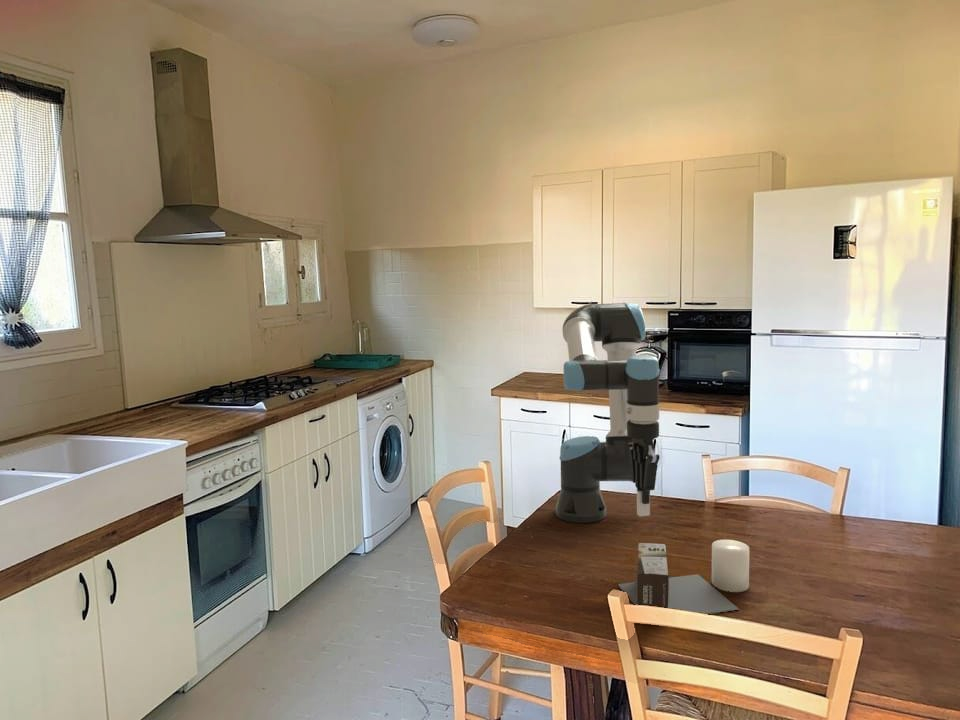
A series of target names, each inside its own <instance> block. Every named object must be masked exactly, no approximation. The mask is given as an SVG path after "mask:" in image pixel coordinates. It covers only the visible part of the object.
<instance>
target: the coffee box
mask: <svg viewBox="0 0 960 720" xmlns="http://www.w3.org/2000/svg"><path fill="white" fill-rule="evenodd" d="M636 569H637V573H636V574H637V575H636V576H637V577H636V579H637V581H636V582H637V600H638V605H649V606H658V607H664V608H668V591H669V578H670V576H669V570H668V569H669V568H668V559H667V547H666V544H664V543H650V542H648V543H647V542H638V545H637V567H636Z"/></svg>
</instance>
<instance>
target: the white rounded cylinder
mask: <svg viewBox="0 0 960 720" xmlns="http://www.w3.org/2000/svg"><path fill="white" fill-rule="evenodd" d="M711 585H713V587H714V588H716V587H717V588H716V589H719V590H722V591H724V592H728V591H729V593H741V592H745V591H747V590H748V589H749V588H750V546H749V545H748V544H746V543H744V542H741V541H738V540H736V539H735V540H734V539H717V540H715V541H713V542H712V544H711Z"/></svg>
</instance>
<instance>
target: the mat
mask: <svg viewBox="0 0 960 720" xmlns="http://www.w3.org/2000/svg"><path fill="white" fill-rule="evenodd" d="M617 586H618V588H620V590H621V591H622V592H623V591H625V592H627V593H628V594H629V598H630V599H629V598H628V599H629V600H630V601H631V602H632V603H633V604H638V600H637V581H632V582H623V583H618V584H617ZM668 608H676V609H682V610H688V611H695V612H702V613H707V614H710V615H716V614H717V613H718V614H721V613H720V612H725V613H727V612H726V611H733V612H735V611H734V610H739V608H738V607H737V606H736V605H735V604H733V603H732V602H731V601H730V600H729V599H728V598H727V597H725V595H724V594H722V593H721V592H719V591H718V590H717V588H716V587H715V586H712V584H710V583H709V582H708V581H707V580H705V579H704V578H703V577H702V576H701V575H699V574H698V573H696V574H690V575H681V576H674V577H673V576H672V577H669V591H668Z"/></svg>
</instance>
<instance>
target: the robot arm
mask: <svg viewBox="0 0 960 720" xmlns="http://www.w3.org/2000/svg"><path fill="white" fill-rule="evenodd" d="M646 334H647V333H646V323H645V318H644V313H643V310H642V308H641V306H640V305H639V304H637V303H635V302H632V303H631V302H629V303H628V302H617V303H616V302H613V303H590V304H585V305H583V306H580V307H578V308H576V309H574V310H573V311H572V312H571V313H570V314H569V315H568V316H567V317H566V318H565V320H564V322H563V325H562V336H563V339H564V341H565V342H566V344H567V350H568V361H565V362H564V363H563V387H564V388H565V390H568V391H578V392H579V391H600V390H601V391H602V390H606V391H607V390H608V401H609V421H610V422H609V425H610V430H609V432H608V433H607V434H606V435H605V441H602V442H601V441H600V440H599V439H600V438H598V437H596V436H593V435H591V436H589V435H585V436H583V435H582V436H577V437H573V438H570V439H566V440H565V441H564V442H562V443H561V445H560V450H559V451H560V453H559V460H560V492H559V495H558V497H557V502H556V504H555V516H556V517H557V518H558V519H559V520H563V521H565V522H568V523H575V524H576V523H577V524H587V523H588V524H589V523H596V522H599V521H602V520H603V519H605V518H606V516H607V506H606V504H605V501H604V498H603V495H602V492H601V487H600V485H601V483H600V482H632V483H633V484H635V485H634V486H635V488H636V515H637V516H638V517H647V516H651V505H650V504H651V500H650V499H651V491H655V490H656V489H655V488H656V480H657V473H658V471H657V470H658V464H659V461H660V459H661V457H660V454H658V453H655V445H654V440H655V439H657V438H659V436H660V423H659V420H660V402H659V401H660V399H659V398H660V373H661V371H660V366H659V363H660V362H659V358H657V357H656V356H651V355H637V350H639V348H640V347H641V346H642V344H641V342H642V341H644V340H645V339H646ZM596 342H597V343H598V342H600V343H601V349H603V350H604V351H605V352H606V354H607V356H606V357H607V359H606V360H602V359H600V360H599V357H598V353H597V349H596V346H595V343H596Z"/></svg>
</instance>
